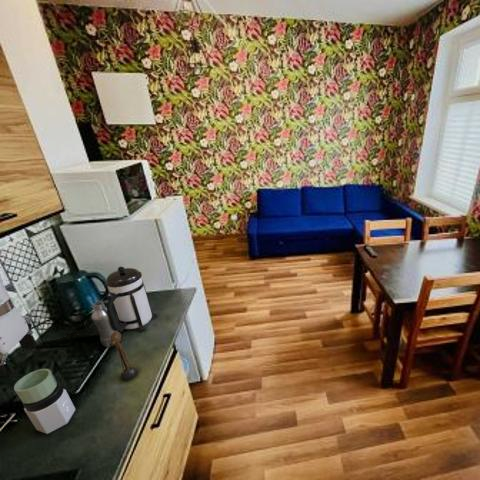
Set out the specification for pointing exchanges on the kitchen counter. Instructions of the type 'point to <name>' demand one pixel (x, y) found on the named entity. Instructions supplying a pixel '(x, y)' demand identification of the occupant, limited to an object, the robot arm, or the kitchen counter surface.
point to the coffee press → (128, 299)
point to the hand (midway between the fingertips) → (18, 360)
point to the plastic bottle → (103, 323)
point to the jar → (51, 410)
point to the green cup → (35, 386)
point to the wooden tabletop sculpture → (123, 358)
